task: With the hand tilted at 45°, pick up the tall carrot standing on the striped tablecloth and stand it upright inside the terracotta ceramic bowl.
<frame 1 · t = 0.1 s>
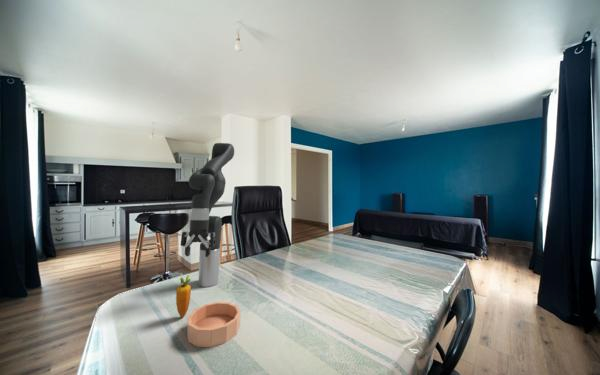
hand: (197, 256, 94), 17 cm above the table, tool pointing down, fingers open, 8 cm apart
carrot: (182, 318, 78), on the table
terracotta bowl: (214, 329, 72), on the table
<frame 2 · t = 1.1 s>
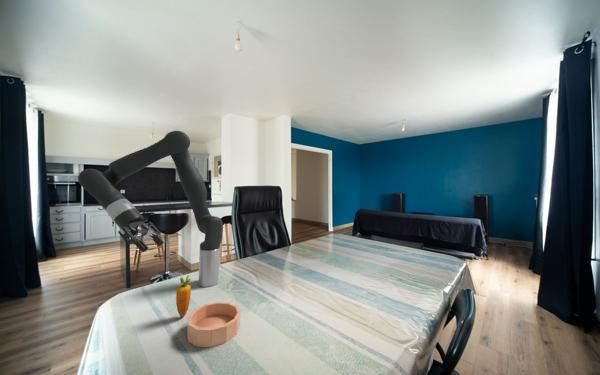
hand: (154, 247, 78), 25 cm above the table, tool tilted 45°, fingers open, 8 cm apart
nothing on the table moved.
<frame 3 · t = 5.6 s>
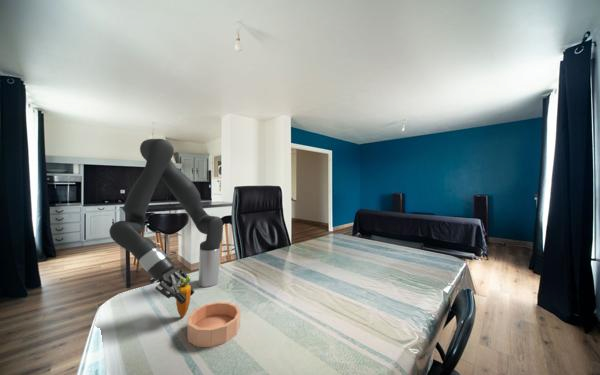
hand: (188, 297, 78), 7 cm above the table, tool tilted 45°, fingers closed on carrot, 5 cm apart
carrot: (182, 318, 78), on the table, touching gripper
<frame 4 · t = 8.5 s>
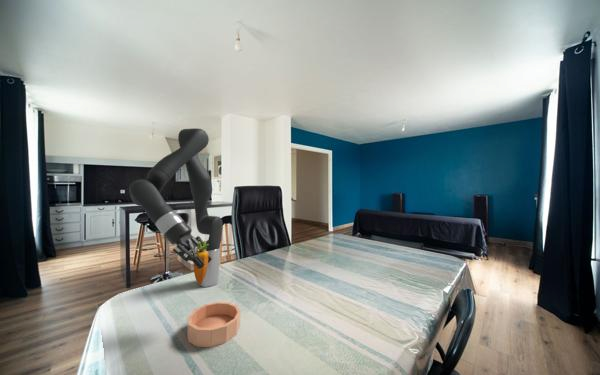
hand: (206, 263, 75), 21 cm above the table, tool tilted 45°, fingers closed on carrot, 5 cm apart
carrot: (199, 284, 75), point 14 cm above the table, touching gripper
when the fingers open (9 cm above the table, at t = 11.7 s): carrot drops 1 cm, resting on terracotta bowl.
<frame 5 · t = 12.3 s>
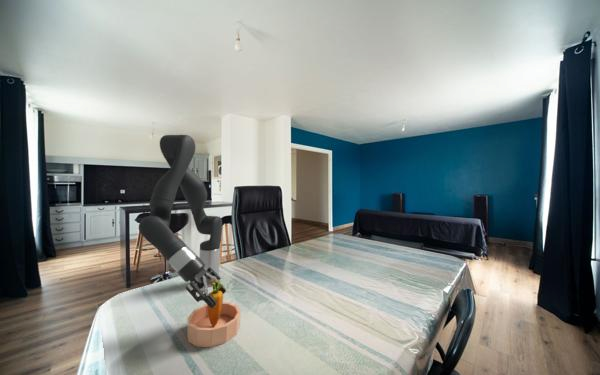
hand: (219, 299, 72), 10 cm above the table, tool tilted 45°, fingers open, 8 cm apart
carrot: (213, 327, 72), point 1 cm above the table, touching terracotta bowl
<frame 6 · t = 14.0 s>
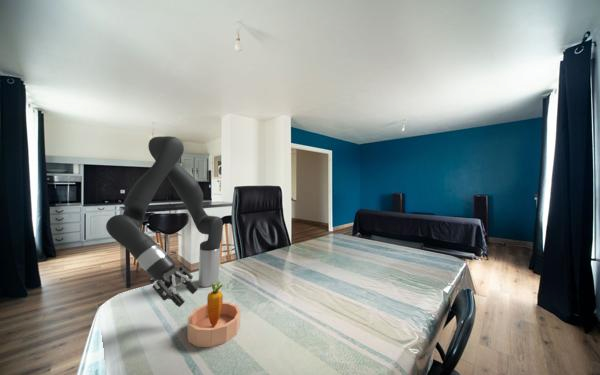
hand: (189, 297, 72), 10 cm above the table, tool tilted 45°, fingers open, 8 cm apart
nothing on the table moved.
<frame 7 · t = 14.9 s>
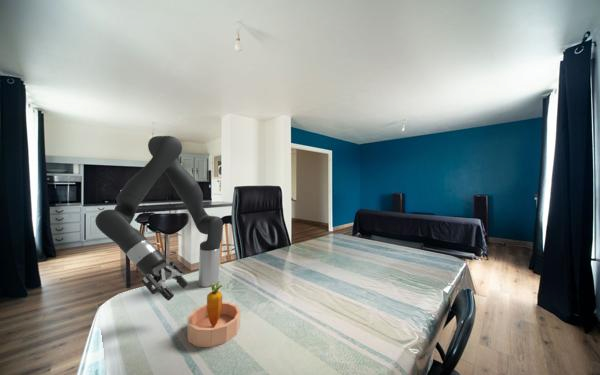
hand: (179, 291, 73), 12 cm above the table, tool tilted 45°, fingers open, 8 cm apart
nothing on the table moved.
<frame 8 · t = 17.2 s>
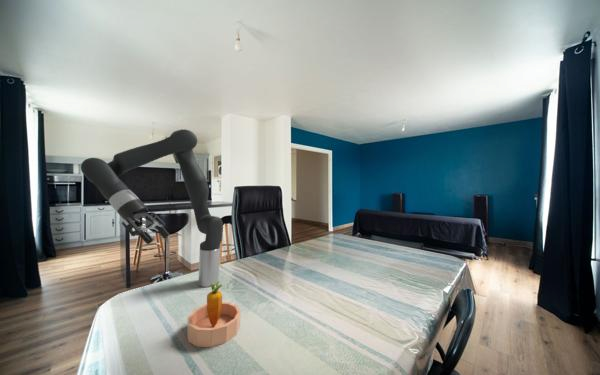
hand: (159, 239, 76), 29 cm above the table, tool tilted 45°, fingers open, 8 cm apart
nothing on the table moved.
at the end: carrot 0.2 cm from the terracotta bowl (horizontally); carrot tilted 0°; the gripper is holding nothing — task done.
